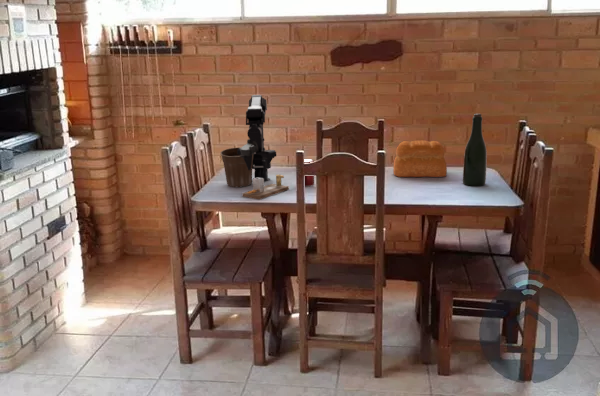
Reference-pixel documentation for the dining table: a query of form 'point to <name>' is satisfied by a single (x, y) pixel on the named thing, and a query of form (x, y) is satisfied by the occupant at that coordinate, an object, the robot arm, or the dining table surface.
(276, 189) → the board
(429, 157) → the bread
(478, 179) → the green wine bottle
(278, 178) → the keeper hook
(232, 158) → the plant pot
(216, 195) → the dining table surface
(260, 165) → the robot arm
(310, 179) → the soda can
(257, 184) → the grey metal piece
